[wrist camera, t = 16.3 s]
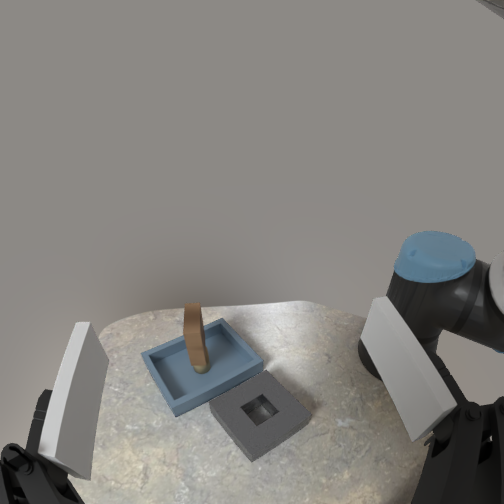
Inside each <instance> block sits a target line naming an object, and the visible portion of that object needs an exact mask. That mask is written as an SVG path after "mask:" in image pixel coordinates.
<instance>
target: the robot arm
mask: <svg viewBox="0 0 504 504" xmlns="http://www.w3.org/2000/svg"><path fill="white" fill-rule="evenodd" d="M476 1H478V2H479V3H481V4H482V5H484V6H485V7H487V8H488V9H490V10H491V11H493V12H494V13H496V14H497V15H499V16H500V17H502V18H503V19H504V0H476ZM443 329H444V330H447V331H449V332H452V333H454V334H457V335H460V336H462V337H465V338H467V339H469V340H472V341H474V342H477V343H480V344H482V345H485V346H487V347H490V348H492V349H493V350H495V351H496V352H498V353H503V354H504V251H502V252H500V253H499V254H498V255H497V256H496V257H495V258H494V260H493V261H492V263H491V264H487V263H485V262H483V261H480V260H477V259H476V257H475V251H474V249H473V247H472V246H471V245H470V244H469V243H467V242H466V241H462V239H461V238H459V237H457V236H455V235H452V234H448V233H443V232H437V231H424V232H418V233H415V234H413V235H411V236H409V237H408V238H407V239H406V240H405V241H404V243H403V245H402V247H401V250H400V253H399V256H398V258H397V260H396V261H395V265H394V273H393V276H392V279H391V283H390V285H389V289H388V291H387V294H386V296H385V297H379V298H374V299H373V302H372V305H371V308H370V311H369V314H368V317H367V320H366V323H365V326H364V329H363V331H362V334H361V337H360V341H359V345H358V352H359V356H360V359H361V361H362V363H363V365H364V366H365V367H366V369H367V370H368V371H369V372H370V373H371V374H372V375H374V376H375V377H377V378H378V379H380V380H382V381H383V382H384V384H385V386H386V388H387V390H388V392H389V394H390V396H391V398H392V400H393V402H394V404H395V406H396V408H397V411H398V413H399V415H400V417H401V419H402V421H403V423H404V425H405V427H406V430H407V432H408V434H409V436H410V438H411V441H412V442H414V441H416V440H418V439H420V438H423V437H425V436H426V435H427V434H428V433H430V432H431V431H433V433H434V434H433V435H432V436H431V437H430V438H429V439H428V440H427V441H426V442H425V444H424V446H426V445H427V444H428V443H430V442H431V443H430V445H429V446H428V447H429V450H428V454H427V458H426V461H425V464H424V468H423V471H422V474H421V477H420V480H419V483H418V486H417V489H416V492H415V494H414V497H413V500H412V502H411V504H504V397H503V396H502V397H500V398H498V399H497V400H496V402H494V403H493V404H489V405H483V406H479V405H478V404H477V403H475V402H469V401H468V400H467V399H466V398H465V396H464V395H463V393H462V391H461V390H460V389H459V386H458V385H457V383H456V381H455V380H454V378H453V377H452V375H450V372H449V371H448V369H447V368H446V366H445V364H444V363H443V361H442V360H441V358H440V357H439V356H437V355H436V349H437V344H438V338H439V335H440V333H441V331H442V330H443ZM108 364H109V359H108V357H107V355H106V353H105V351H104V349H103V347H102V345H101V343H100V341H99V339H98V337H97V335H96V333H95V331H94V329H93V327H92V324H91V322H77V323H76V325H75V327H74V330H73V333H72V335H71V338H70V341H69V343H68V346H67V349H66V352H65V355H64V357H63V360H62V363H61V366H60V369H59V372H58V375H57V378H56V382H55V385H54V388H53V390H46V389H45V390H44V391H43V393H42V394H41V396H40V397H39V399H38V402H37V405H36V411H35V412H34V416H33V417H34V419H33V420H32V424H31V428H30V432H29V436H28V441H27V445H26V449H25V450H24V449H23V448H22V447H20V446H19V445H18V444H14V443H10V444H7V445H6V446H5V447H4V448H3V450H2V452H1V460H0V504H85V503H84V502H83V500H82V499H81V497H80V496H79V494H78V493H77V491H76V490H75V488H74V487H73V485H72V483H71V482H70V481H69V479H68V478H67V477H68V474H70V475H72V476H73V477H76V478H80V479H85V480H90V481H91V469H92V459H93V450H94V442H95V435H96V428H97V421H98V415H99V409H100V404H101V398H102V393H103V388H104V383H105V378H106V373H107V368H108ZM490 436H492V441H490Z"/></svg>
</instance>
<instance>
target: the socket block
mask: <svg viewBox="0 0 504 504" xmlns="http://www.w3.org/2000/svg"><path fill="white" fill-rule="evenodd" d="M209 405H210V409H211V413H212V414H213V416H214V417H215V418H216V419H217V421H218V422H219V423H220V425H221V426H222V427H223V429H224V430H225V431H226V432H227V434H228V435H229V436H230V437H231V439H232V440H233V441H234V442H235V443H236V445H237V446H238V447H239V448H240V450H241V451H242V452H243V453H244V454H245V455H246V457H247V458H248V459H249V460H250V461H251V462H253V461H255V460H256V459H258V458H259V457H261V456H263V455H264V454H266V453H267V452H269V451H270V450H272V449H273V448H275V447H276V446H278V445H279V444H281V443H282V442H284V441H285V440H287V439H288V438H290V437H291V436H292V435H294V434H295V433H297V432H298V431H299V430H301V429H302V428H303V427H305V426H306V425H307V424H308V422H309V420H310V417H311V415H312V414H311V413H310V412H309V411H308V410H307V409H306V408H305V407H304V406H303V405H302V404H301V403H300V402H299V401H297V400H296V399H295V398H294V397H293V396H292V395H291V394H290V393H289V392H288V391H287V390H286V389H285V388H284V387H283V386H282V385H281V384H280V383H279V382H278V381H277V380H276V379H275V378H274V377H273V376H272V375H271V374H270V373H269V372H268V371H267V370H265V371H263V372H262V373H260V374H258V375H257V376H255V377H253V378H251V379H250V380H248V381H246V382H244V383H243V384H241V385H239V386H237V387H235V388H234V389H232V390H230V391H228V392H226V393H224V394H223V395H221V396H219V397H217V398H215V399H213V400H211V401H209ZM261 405H262V406H263V407H264V408H265V409H266V410H267V411H268V412H269V413H270V414H271V416H272V417H271V418H269V419H268V420H266V421H265V422H263V423H261V424H260V425H258V426H256V425H255V424H254V423H253V421H252V420H251V419H250V418H249V417H248V416H247V415H246V414H248V413H249V412H251V411H253V410H254V409H256V408H258V407H259V406H261Z"/></svg>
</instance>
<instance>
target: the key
mask: <svg viewBox="0 0 504 504" xmlns="http://www.w3.org/2000/svg"><path fill="white" fill-rule="evenodd" d="M183 335H184V339H185V343H186V347H187V351H188V355H189V359H190V363H191V366H193V368H194V371H195V372H196V373H198V374H205V373H207V372H209V370H210V368H211V366H210V360H209V355H208V349H207V347H206V346H205V332H204V326H203V319H202V313H201V307H200V303H189V304H185V311H184V329H183Z"/></svg>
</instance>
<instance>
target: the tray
mask: <svg viewBox="0 0 504 504" xmlns="http://www.w3.org/2000/svg"><path fill="white" fill-rule="evenodd" d="M204 332H205V346H206V347H207V349H208V355H209V360H210V366H211V368H210V370H209V372H207V373H205V374H198V373H196V372H195V371H194V368H193V366H191V363H190V359H189V355H188V351H187V347H186V343H185V339H184V335H183V336H180V337H178V338H176V339H173V340H171V341H169V342H166V343H164V344H162V345H159V346H157V347H155V348H152V349H150V350H148V351H145V352H143V353H141V355H142V357H143V360H144V362H145V364H146V366H147V368H148V370H149V372H150V374H151V376H152V378H153V379H154V381H155V383H156V385H157V387H158V388H159V390H160V392H161V394H162V395H163V397H164V399H165V400H166V402H167V404H168V405H169V407H170V409H171V410H172V412H173V414H174V415H175V417H177V416H180V415H182V414H184V413H186V412H188V411H190V410H192V409H194V408H196V407H198V406H200V405H202V404H204V403H206V402H208V401H210V400H212V399H214V398H216V397H218V396H219V395H221V394H223V393H225V392H227V391H229V390H231V389H232V388H234V387H236V386H238V385H240V384H241V383H243V382H245V381H247V380H249V379H250V378H252V377H254V376H255V375H257V374H259V373H261V372H262V371H263V360H262V359H261V358H260V357H259V356H258V355H257V354H256V353H255V352H254V351H253V349H252V348H251V347H250V346H249V345H248V344H247V343H246V342H245V341H244V340H243V339H242V338H241V337H240V336H239V335H238V334H237V333H236V332H235V331H234V330H233V329H232V328H231V327H230V325H229V324H228V323H227V322H226V321H225V320H224V319H223V318H220V319H218V320H216V321H214V322H212V323H210V324H207V325H205V326H204Z"/></svg>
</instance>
